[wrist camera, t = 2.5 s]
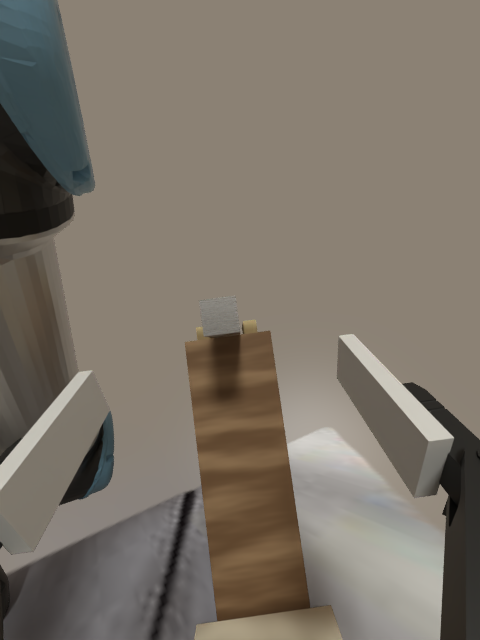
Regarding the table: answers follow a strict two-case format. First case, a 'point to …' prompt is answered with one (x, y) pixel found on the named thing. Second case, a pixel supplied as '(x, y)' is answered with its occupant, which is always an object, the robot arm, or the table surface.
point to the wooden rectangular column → (245, 476)
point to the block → (219, 317)
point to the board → (275, 626)
